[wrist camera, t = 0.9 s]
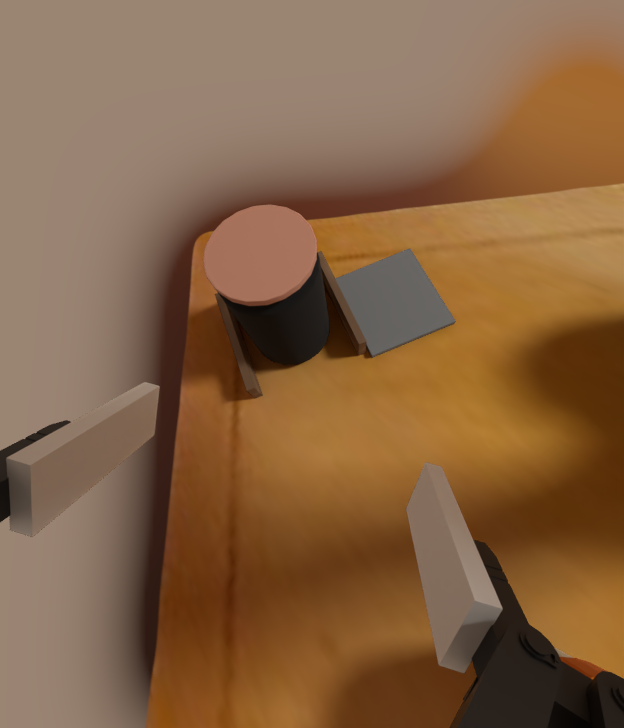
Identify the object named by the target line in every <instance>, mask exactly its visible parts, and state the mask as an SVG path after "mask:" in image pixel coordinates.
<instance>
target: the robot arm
mask: <svg viewBox="0 0 624 728" xmlns="http://www.w3.org/2000/svg"><path fill="white" fill-rule="evenodd" d="M159 387H160V386H157V385H154V384H150V383H147V382H144V383H142V384H140V385H138V386H136V387H135V388H133V389H131V390H129V391H127V392H125V393H124V394H122V395H120V396H118V397H116V398H114V399H113V400H111V401H109V402H107V403H105V404H104V405H102V406H100V407H98V408H97V409H94V410H93V411H91V412H89V413H87V414H85V415H83V416H82V417H80V418H79V419H76V420H74V421H73V422H70V421H63V422H59V423H56V424H52V425H49V426H47V427H45V428H43V429H41V430H39V431H38V432H37V433H36V434H35V433H34V434H32V435H30V436H28V437H26V439H22V440H20V441H18V442H16V443H14V444H12V445H11V446H9V447H7V448H5V449H3V450H1V451H0V522H1V521H3V520H4V519H5V518H7V517H8V516H10V530H11V531H14V532H18V533H21V534H24V535H27V536H30V537H33V536H34V535H36V534H37V533H38V532H39V531H40V530H42V529H43V528H44V527H45V526H46V525H48V524H49V523H50V522H51V521H52V520H54V519H55V518H56V517H57V516H58V515H60V514H61V513H62V512H63V511H64V510H65V509H66V508H68V507H69V506H70V505H71V504H73V503H74V502H75V501H76V500H77V499H79V498H80V497H81V496H82V495H83V494H84V493H86V492H87V491H88V490H89V489H90V488H92V487H93V486H94V485H95V484H96V483H97V482H99V481H100V480H101V479H102V478H104V476H106V475H107V474H108V473H109V472H111V471H112V470H113V469H114V468H115V467H117V466H118V465H119V464H120V463H121V462H123V461H124V460H125V459H126V458H127V457H128V456H130V455H131V454H132V453H133V452H135V451H136V450H137V449H138V448H139V447H140V446H142V445H143V444H144V443H145V442H146V441H148V440H149V439H150V438H151V437H152V436H154V433H155V423H156V415H157V405H158V396H159ZM406 511H407V516H408V520H409V525H410V530H411V535H412V540H413V544H414V549H415V554H416V559H417V564H418V568H419V573H420V578H421V583H422V587H423V592H424V597H425V602H426V607H427V611H428V616H429V621H430V626H431V631H432V635H433V640H434V645H435V650H436V654H437V659H438V664H439V666H442V667H445V668H448V669H452V670H455V671H458V672H461V673H465V671H466V670H467V668H468V666H469V665H470V663H471V661H473V664H474V668H475V671H476V675H477V677H476V679H475V681H474V682H473V684H472V685H471V687H470V689H469V690H468V692H467V693H466V695H465V697H464V698H463V700H464V701H463V703H462V705H461V707H460V709H459V711H458V712H457V714H456V716H455V718H454V720H453V722H452V724H451V726H450V728H624V679H623V678H621V677H619V676H617V675H615V674H613V673H611V672H606V671H601V672H600V673H598V674H597V675H596V676H595V678H594V679H593V680H592V679H591V678H589V677H587V676H586V675H584V674H582V673H581V672H579V671H577V670H576V669H574V668H572V667H571V666H569V665H567V664H566V663H564V662H563V661H561V659H560V657H559V654H558V652H557V651H556V649H555V648H554V647H553V645H552V644H551V643H550V641H549V640H548V639H547V638H546V637H545V636H544V635H543V634H542V633H541V632H539V631H538V630H536V629H535V628H533V627H532V626H530V625H529V623H528V621H527V619H526V617H525V615H524V613H523V611H522V609H521V607H520V605H519V603H518V601H517V599H516V597H515V595H514V592H513V590H512V588H511V586H510V584H508V580H507V578H506V576H505V574H504V572H502V568H501V566H500V564H499V562H498V559H497V557H496V556H495V555H494V553H493V552H492V551H491V550H490V549H489V547H488V546H487V545H486V544H485V543H483V542H480V541H476V540H473V538H472V536H471V534H470V531H469V529H468V527H467V524H466V522H465V520H464V518H463V515H462V513H461V511H460V508H459V506H458V504H457V501H456V499H455V497H454V494H453V492H452V490H451V487H450V485H449V483H448V480H447V478H446V476H445V473H444V471H443V469H442V467H441V466H437V465H434V464H430V463H427V462H425V464H424V467H423V469H422V472H421V474H420V477H419V479H418V481H417V484H416V486H415V489H414V491H413V493H412V496H411V498H410V501H409V503H408V505H407V508H406Z"/></svg>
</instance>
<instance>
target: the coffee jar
mask: <svg viewBox="0 0 624 728" xmlns="http://www.w3.org/2000/svg"><path fill="white" fill-rule="evenodd" d="M203 264H204V268H205V272H206V276H207V278H208V280H209V281H210V283H211V284H212V285H213V287H214V288H215V289H216V291H217V292H218V294H219V295H220V296H221V298H222V299H223V301H224V302H225V303H226V305H227V306H228V307H229V309H230V310H231V312H232V313H233V314H234V316H235V317H236V318H237V320H238V321H239V322H240V324H241V325H242V327H243V328H244V329H245V331H246V332H247V333H248V335H249V336H250V337H251V339H252V340H253V342H254V343H255V344H256V346H257V347H258V348H259V350H260V351H261V352H262V354H263V355H264V356H265V357H267V358H268V359H270V360H271V361H273V362H276V363H280V364H283V365H291V364H299V363H302V362H305V361H308V360H309V359H311V358H312V357H314V356H315V355H316V354H318V353H319V352H320V350H321V349H322V348H323V346H324V345H325V344H326V341H327V338H328V335H329V316H328V310H327V303H326V297H325V290H324V284H323V277H322V271H321V264H320V258H319V255H318V253H317V239H316V237H315V234H314V232H313V230H312V227H311V225H310V224H309V223H308V222H307V221H306V220H305V219H304V218H303V217H302V216H301V215H300V214H298V213H297V212H295V211H293V210H290V209H288V208H286V207H281V206H275V205H261V206H253V207H250V208H247V209H244V210H241V211H239V212H237V213H235V214H234V215H232V216H230V217H229V218H228V219H226V220H224V221H223V222H222V223H221V224H220V225H219V226H218V227H217V228H216V230H215V231H214V232H213V233H212V235H211V237H210V239H209V241H208V243H207V245H206V247H205V253H204V260H203Z"/></svg>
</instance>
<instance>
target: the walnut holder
mask: <svg viewBox="0 0 624 728" xmlns="http://www.w3.org/2000/svg"><path fill="white" fill-rule="evenodd" d="M318 255H319V258H320V264H321V271H322V277H323V283H324V285H325V287H326V289H327V291H328V293H329V295H330V297H331V299H332V301H333V304H334V306H335V308H336V310H337V312H338V314H339V316H340V318H341V320H342V322H343V324H344V326H345V328H346V331H347V333H348V335H349V337H350V339H351V341H352V343H353V345H354V347H355V349H356V351H357V353H358V355H361V354H364V353H365V352H366V342H367V341H366V339H365V337H364V335H363V333H362V331H361V329H360V327H359V325H358V323H357V321H356V319H355V317H354V315H353V313H352V311H351V309H350V307H349V305H348V303H347V301H346V299H345V297H344V295H343V293H342V291H341V289H340V287H339V285H338V283H337V281H336V279H335V277H334V275H333V273H332V271H331V269H330V267H329V265H328V263H327V261H326V259H325V257H324V255H323V253H322V251H320V252H318ZM215 296H216V299H217V302H218V305H219V308H220V311H221V314H222V317H223V320H224V323H225V326H226V329H227V332H228V335H229V339H230V342H231V345H232V348H233V351H234V354H235V357H236V360H237V363H238V366H239V369H240V372H241V375H242V378H243V381H244V384H245V387H246V390H247V391H248V392H249V393H250V394H251V395H253V396H254V397H255V398H258V397H260V396H262V392H261V389H260V386H259V383H258V380H257V377H256V375H255V372H254V369H253V366H252V363H251V360H250V357H249V354H248V352H247V349H246V346H245V343H244V340H243V337H242V334H241V331H240V329H239V326H238V323H237V320H236V317H235V316H234V314H233V313H232V312H231V310H230V309H229V307H228V306H227V305H226V303H225V302H224V301H223V299H222V298H221V296H220V295H219V294H218V293H217V294H215Z"/></svg>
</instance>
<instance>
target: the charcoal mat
mask: <svg viewBox="0 0 624 728" xmlns="http://www.w3.org/2000/svg"><path fill="white" fill-rule="evenodd" d="M336 281H337V283H338V285H339V287H340V289H341V291H342V293H343V295H344V297H345V299H346V301H347V303H348V305H349V307H350V309H351V311H352V313H353V315H354V317H355V319H356V321H357V323H358V325H359V327H360V329H361V331H362V333H363V335H364V337H365V339H366V341H367V342H366V347H367V349H368V351H369V353H370V355H371V357H372V358H373V357H375V356H377V355H380V354H382V353H385V352H387V351H390V350H392V349H394V348H397V347H399V346H402V345H404V344H406V343H409V342H411V341H414V340H416V339H419V338H421V337H423V336H426V335H428V334H431V333H433V332H435V331H438V330H440V329H443V328H445V327H447V326H450V325H452V324H454V323H455V319H454V318H453V316H452V315H451V313H450V311H449V310H448V308H447V307H446V305H445V303H444V302H443V300H442V299H441V297H440V295H439V294H438V292H437V291H436V289H435V287H434V286H433V284H432V283H431V281H430V279H429V278H428V276H427V275H426V273H425V271H424V270H423V268H422V267H421V265H420V264H419V262H418V260H417V259H416V257H415V256H414V254H413V252H412V251H411V249H410V248H409V249H407V250H404V251H402V252H400V253H397V254H395V255H392V256H390V257H387V258H385V259H382V260H380V261H378V262H375V263H373V264H370V265H368V266H365V267H363V268H360V269H358V270H356V271H353V272H351V273H348V274H346V275H343V276H341V277H338V278H336Z"/></svg>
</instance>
